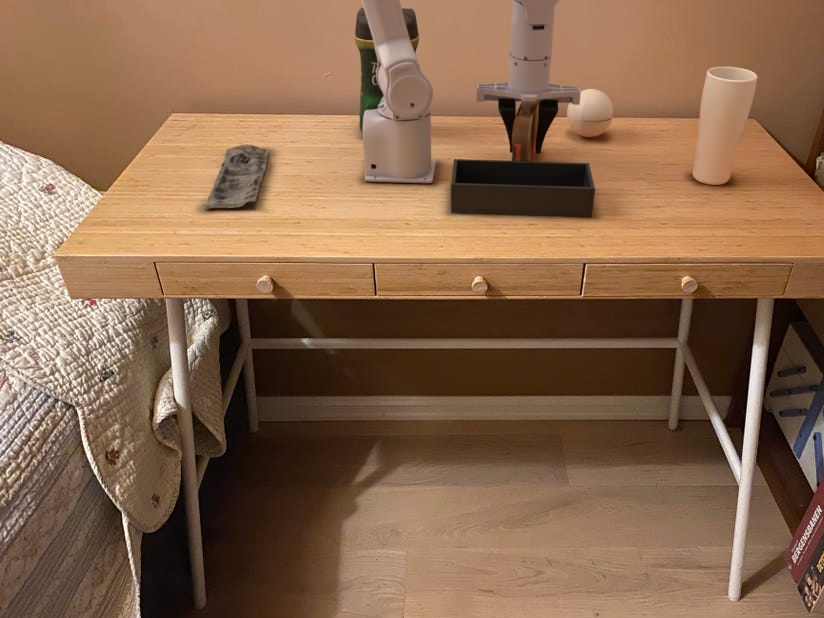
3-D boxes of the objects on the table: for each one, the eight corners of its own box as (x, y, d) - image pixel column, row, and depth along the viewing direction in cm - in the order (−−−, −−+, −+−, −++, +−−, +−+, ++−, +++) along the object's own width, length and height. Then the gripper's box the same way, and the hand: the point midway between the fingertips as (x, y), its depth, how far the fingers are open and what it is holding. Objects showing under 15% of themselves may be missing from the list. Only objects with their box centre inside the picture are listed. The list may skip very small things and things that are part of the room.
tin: (527, 185, 111) (533, 126, 106) (505, 182, 112) (510, 123, 107) (539, 146, 123) (546, 92, 118) (519, 143, 124) (525, 89, 119)
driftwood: (228, 150, 119) (226, 137, 118) (274, 150, 120) (273, 136, 118) (204, 212, 102) (201, 197, 101) (257, 212, 103) (255, 197, 102)
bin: (450, 213, 104) (450, 184, 101) (453, 186, 111) (453, 158, 108) (591, 217, 104) (595, 188, 101) (586, 190, 111) (589, 162, 108)
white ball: (568, 144, 124) (572, 97, 120) (562, 127, 130) (566, 82, 126) (631, 144, 125) (637, 98, 121) (622, 128, 131) (628, 83, 127)
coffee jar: (358, 140, 123) (350, 14, 112) (362, 123, 130) (354, 1, 119) (420, 141, 124) (418, 15, 113) (421, 123, 130) (418, 2, 119)
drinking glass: (738, 175, 116) (762, 70, 107) (729, 192, 111) (753, 84, 102) (692, 166, 118) (712, 63, 110) (681, 182, 113) (701, 76, 105)
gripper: (476, 61, 105) (475, 159, 113) (585, 65, 105) (576, 162, 113) (477, 47, 111) (476, 141, 119) (581, 50, 111) (572, 144, 119)
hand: (524, 150), depth 116 cm, fingers closed on tin, 3 cm apart
